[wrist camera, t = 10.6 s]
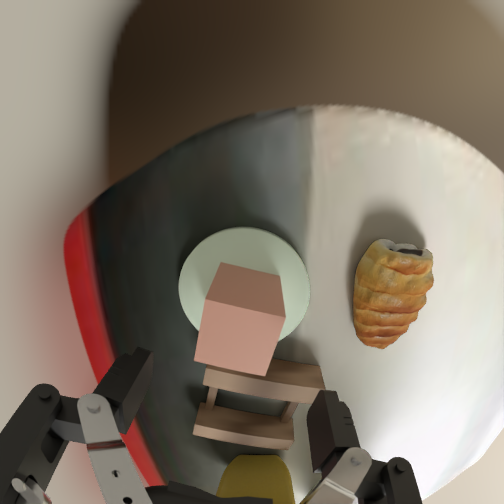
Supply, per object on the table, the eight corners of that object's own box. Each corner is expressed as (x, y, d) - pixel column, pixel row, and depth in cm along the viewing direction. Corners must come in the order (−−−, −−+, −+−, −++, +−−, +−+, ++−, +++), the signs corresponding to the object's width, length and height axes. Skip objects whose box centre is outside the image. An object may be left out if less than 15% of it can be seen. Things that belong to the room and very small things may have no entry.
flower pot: (228, 474, 31) (223, 524, 23) (220, 445, 29) (211, 505, 20) (290, 474, 31) (292, 524, 22) (292, 445, 28) (296, 505, 20)
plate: (324, 245, 21) (327, 248, 20) (287, 351, 24) (287, 358, 23) (193, 212, 20) (190, 214, 20) (175, 326, 23) (172, 332, 22)
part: (280, 276, 21) (286, 317, 15) (264, 326, 22) (264, 376, 16) (220, 261, 20) (204, 299, 15) (210, 313, 22) (194, 360, 16)
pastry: (399, 338, 23) (415, 361, 20) (335, 337, 24) (344, 363, 20) (427, 243, 21) (451, 256, 17) (358, 233, 21) (376, 246, 17)
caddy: (319, 366, 24) (325, 389, 21) (286, 428, 27) (287, 450, 24) (212, 345, 24) (206, 367, 21) (198, 412, 27) (192, 434, 24)
